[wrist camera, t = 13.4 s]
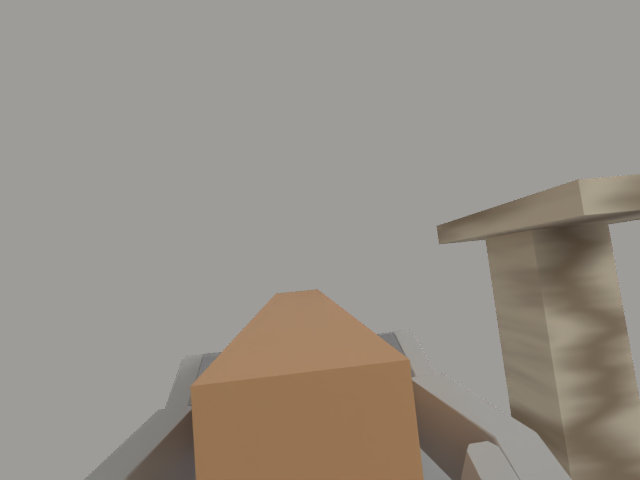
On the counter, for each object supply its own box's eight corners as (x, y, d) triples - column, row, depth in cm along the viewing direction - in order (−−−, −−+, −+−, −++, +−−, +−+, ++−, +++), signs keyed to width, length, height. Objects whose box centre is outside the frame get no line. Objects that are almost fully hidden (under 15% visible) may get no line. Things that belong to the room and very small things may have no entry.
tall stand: (679, 923, 12) (555, 181, 14) (469, 568, 26) (425, 227, 28) (971, 838, 13) (810, 159, 15) (616, 541, 27) (561, 214, 29)
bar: (205, 633, 4) (190, 386, 5) (279, 336, 24) (275, 293, 24) (437, 591, 4) (409, 359, 5) (321, 331, 24) (317, 289, 25)
